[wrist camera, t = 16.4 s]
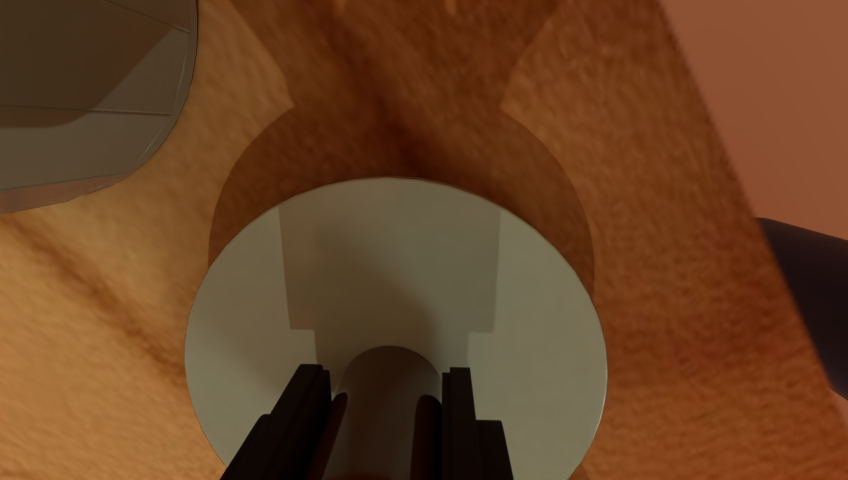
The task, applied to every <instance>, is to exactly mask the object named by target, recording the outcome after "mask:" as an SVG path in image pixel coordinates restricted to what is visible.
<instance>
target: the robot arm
mask: <svg viewBox="0 0 848 480" xmlns="http://www.w3.org/2000/svg"><path fill="white" fill-rule="evenodd" d="M331 403H332V396H331V383H330V372H329V370H323V366H322V365H321V364H300V365H299V366H298V368H297V370H296V371H295V373H294V375H293V376H292V378H291V380H290V381H289V383H288V385H287V386H286V388H285V390H284V391H283V393H282V395H281V396H280V398H279V400H278V401H277V403H276V405H275V406H274V408H273V409H272V411H271V413H270V414H263V415H261V416H260V417H259V419H258V420H257V421H256V423H255V425H254V426H253V428H252V429H251V431H250V433H249V434H248V436H247V437H246V439H245V440H244V442H243V444H242V445H241V447H240V448H239V450H238V452H237V453H236V455H235V456H234V458H233V459H232V461H231V463H230V464H229V466H228V467H227V469H226V470H225V472H224V474H223V475H222V477H221V478H220V480H301V478H302V475H303V473H304V470H305V468H306V465H307V463H308V460H309V458H310V455H311V453H312V450H313V448H314V445H315V443H316V440H317V438H318V435H319V433H320V430H321V428H322V425H323V423H324V420H325V418H326V415H327V413H328V410H329V408H330V405H331ZM442 480H514V478H513V473H512V468H511V463H510V458H509V453H508V448H507V443H506V438H505V434H504V429H503V425H502V422H501V420H476V414H475V405H474V397H473V388H472V380H471V371H470V367H450V372H442Z"/></svg>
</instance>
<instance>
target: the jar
mask: <svg viewBox="0 0 848 480" xmlns="http://www.w3.org/2000/svg"><path fill="white" fill-rule="evenodd" d="M197 23H198V20H197V8H196V0H0V215H3V214H8V213H13V212H18V211H23V210H28V209H34V208H39V207H44V206H49V205H54V204H59V203H64V202H68V201H70V200H73V199H75V198H77V197H79V196H81V195H86V194H90V193H93V192H96V191H98V190H101V189H104V188H106V187H109V186H111V185H113V184H115V183H116V182H118V181H120V180H122V179H123V178H125V177H127V176H129V175H130V174H131V173H132V172H134V171H135V170H136V169H137V168H139V167H140V166H141V165H142V164H144V163H145V162H146V161H147V160H148V159H149V158H150V157H151V156H152V154H153V153H154V152H155V151H156V150H157V149H158V148H159V147H160V146H161V144H162V143H163V142H164V140H165V138H166V137H167V135H168V134H169V132H170V131H171V129H172V128H173V126H174V125H175V123H176V120H177V118H178V116H179V114H180V112H181V109H182V107H183V105H184V103H185V100H186V97H187V93H188V90H189V87H190V83H191V80H192V76H193V69H194V63H195V57H196V51H197Z"/></svg>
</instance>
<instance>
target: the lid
mask: <svg viewBox="0 0 848 480" xmlns="http://www.w3.org/2000/svg"><path fill="white" fill-rule="evenodd" d="M300 364H321V365H322V366H323V370H329V372H330V383H331V396H332V403H331V405H330V408H329V410H328V413H327V415H326V418H325V420H324V423H323V425H322V428H321V430H320V433H319V435H318V438H317V440H316V443H315V445H314V448H313V450H312V453H311V455H310V458H309V460H308V463H307V465H306V468H305V470H304V473H303V475H302V478H301V480H442V372H450V367H470V371H471V380H472V388H473V397H474V405H475V414H476V420H501V422H502V425H503V429H504V434H505V438H506V443H507V448H508V453H509V458H510V463H511V468H512V473H513V478H514V480H568V478H569V477H570V476H571V474H572V473H573V472H574V470H575V469H576V468H577V466H578V465H579V464H580V463H581V461H582V459H583V457H584V456H585V454H586V452H587V450H588V448H589V447H590V445H591V443H592V441H593V439H594V436H595V434H596V431H597V428H598V426H599V423H600V420H601V417H602V412H603V408H604V403H605V399H606V392H607V375H608V366H607V355H606V344H605V340H604V336H603V332H602V328H601V324H600V320H599V317H598V315H597V312H596V310H595V308H594V305H593V303H592V301H591V298H590V296H589V294H588V292H587V290H586V289H585V287H584V285H583V284H582V282H581V280H580V279H579V277H578V276H577V274H576V272H575V271H574V269H573V268H572V267H571V266H570V264H569V263H568V262H567V261H566V260H565V258H564V257H563V256H562V255H561V254H560V252H559V251H558V250H557V249H556V248H555V247H554V245H553V244H552V243H551V242H550V241H548V240H547V239H546V238H545V237H544V236H543V235H542V234H541V233H540V232H538V231H537V230H536V229H535V228H534V227H533V226H532V225H531V224H530V223H528V222H527V221H525V220H524V219H522V218H521V217H519V216H518V215H516V214H515V213H514V212H512V211H511V210H509V209H508V208H506V207H505V206H503V205H501V204H499V203H497V202H495V201H493V200H491V199H489V198H487V197H485V196H483V195H481V194H479V193H476V192H473V191H470V190H467V189H464V188H461V187H458V186H455V185H453V184H450V183H445V182H440V181H435V180H430V179H425V178H420V177H408V176H393V175H383V176H368V177H356V178H351V179H346V180H342V181H337V182H332V183H328V184H325V185H322V186H319V187H316V188H313V189H310V190H308V191H305V192H302V193H299V194H297V195H295V196H293V197H291V198H289V199H287V200H285V201H283V202H282V203H280V204H278V205H276V206H274V207H272V208H270V209H268V210H267V211H266V212H264V213H263V214H261V215H260V216H259V217H257V218H256V219H254V220H253V221H252V222H250V223H249V224H247V225H246V226H245V227H244V228H243V229H242V230H241V231H240V232H239V233H238V234H237V235H236V236H235V237H234V238H233V239H232V240H231V241H230V242H228V243H227V244H226V246H225V247H224V248H223V250H222V251H221V252H220V254H219V255H218V256H217V258H216V259H215V260H214V262H213V263H212V264H211V266H210V267H209V269H208V271H207V273H206V275H205V277H204V278H203V280H202V282H201V284H200V286H199V288H198V290H197V293H196V296H195V299H194V301H193V304H192V307H191V310H190V313H189V318H188V323H187V329H186V334H185V349H184V365H185V374H186V382H187V388H188V391H189V395H190V399H191V403H192V407H193V410H194V412H195V414H196V417H197V419H198V422H199V424H200V427H201V429H202V431H203V433H204V434H205V436H206V438H207V440H208V441H209V443H210V445H211V447H212V448H213V450H214V452H215V453H216V454H217V456H218V457H219V458H220V460H221V461H222V462H223V464H224V465H225V466H226V468H227V467H228V466H229V464H230V463H231V461H232V459H233V458H234V456H235V455H236V453H237V452H238V450H239V448H240V447H241V445H242V444H243V442H244V440H245V439H246V437H247V436H248V434H249V433H250V431H251V429H252V428H253V426H254V425H255V423H256V421H257V420H258V419H259V417H260V416H261V415H263V414H270V413H271V411H272V409H273V408H274V406H275V405H276V403H277V401H278V400H279V398H280V396H281V395H282V393H283V391H284V390H285V388H286V386H287V385H288V383H289V381H290V380H291V378H292V376H293V375H294V373H295V371H296V370H297V368H298V366H299V365H300Z"/></svg>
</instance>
